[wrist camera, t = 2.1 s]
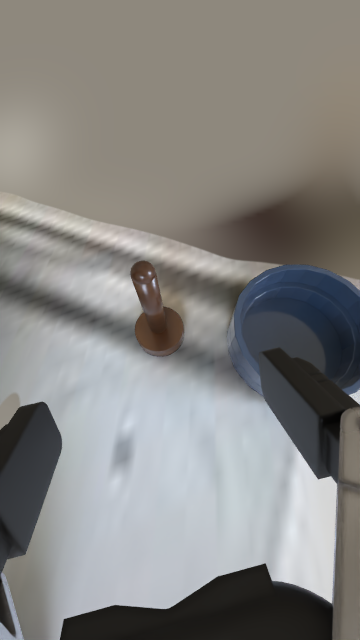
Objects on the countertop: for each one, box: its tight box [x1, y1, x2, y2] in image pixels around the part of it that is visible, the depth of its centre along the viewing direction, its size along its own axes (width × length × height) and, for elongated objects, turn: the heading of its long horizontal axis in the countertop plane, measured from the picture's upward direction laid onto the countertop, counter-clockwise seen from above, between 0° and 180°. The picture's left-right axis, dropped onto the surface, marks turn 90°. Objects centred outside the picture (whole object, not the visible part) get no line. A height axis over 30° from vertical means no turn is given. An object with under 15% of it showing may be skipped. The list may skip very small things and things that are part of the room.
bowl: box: [227, 265, 360, 396], centre depth 27 cm, size 13×13×6 cm
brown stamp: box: [130, 261, 184, 357], centre depth 25 cm, size 5×5×13 cm
